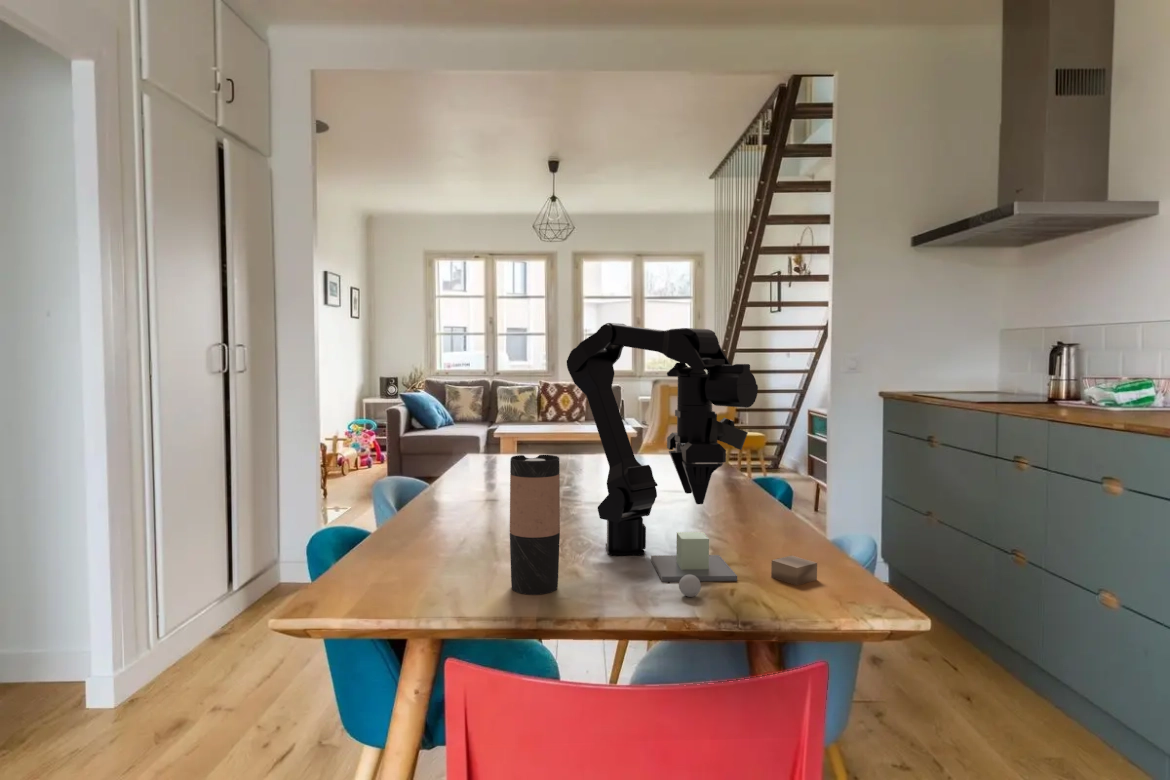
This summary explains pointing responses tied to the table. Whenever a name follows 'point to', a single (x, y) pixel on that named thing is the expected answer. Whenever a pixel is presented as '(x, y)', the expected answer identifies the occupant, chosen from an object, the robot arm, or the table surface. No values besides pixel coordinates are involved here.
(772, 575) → the walnut block
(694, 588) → the grey ball
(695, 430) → the robot arm
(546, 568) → the travel mug
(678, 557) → the sage block
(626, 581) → the table surface
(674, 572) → the plate
